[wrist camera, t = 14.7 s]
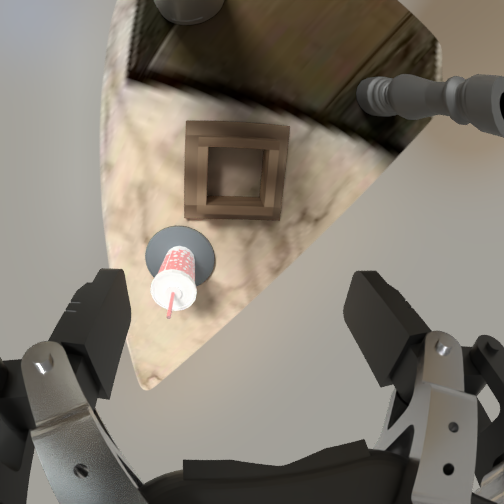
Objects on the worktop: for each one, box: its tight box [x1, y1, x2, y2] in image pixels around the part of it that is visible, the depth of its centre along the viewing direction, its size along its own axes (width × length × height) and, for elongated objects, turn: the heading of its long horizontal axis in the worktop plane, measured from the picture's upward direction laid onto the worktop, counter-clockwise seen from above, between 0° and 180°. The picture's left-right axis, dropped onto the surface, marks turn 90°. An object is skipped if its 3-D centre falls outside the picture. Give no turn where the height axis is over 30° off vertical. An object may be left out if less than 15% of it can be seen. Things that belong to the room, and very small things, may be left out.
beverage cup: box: [151, 246, 197, 319], centre depth 37 cm, size 6×6×14 cm
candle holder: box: [356, 74, 504, 137], centre depth 25 cm, size 6×6×25 cm
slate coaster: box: [145, 226, 214, 286], centre depth 44 cm, size 11×11×1 cm
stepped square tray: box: [184, 121, 290, 220], centre depth 37 cm, size 14×14×4 cm
